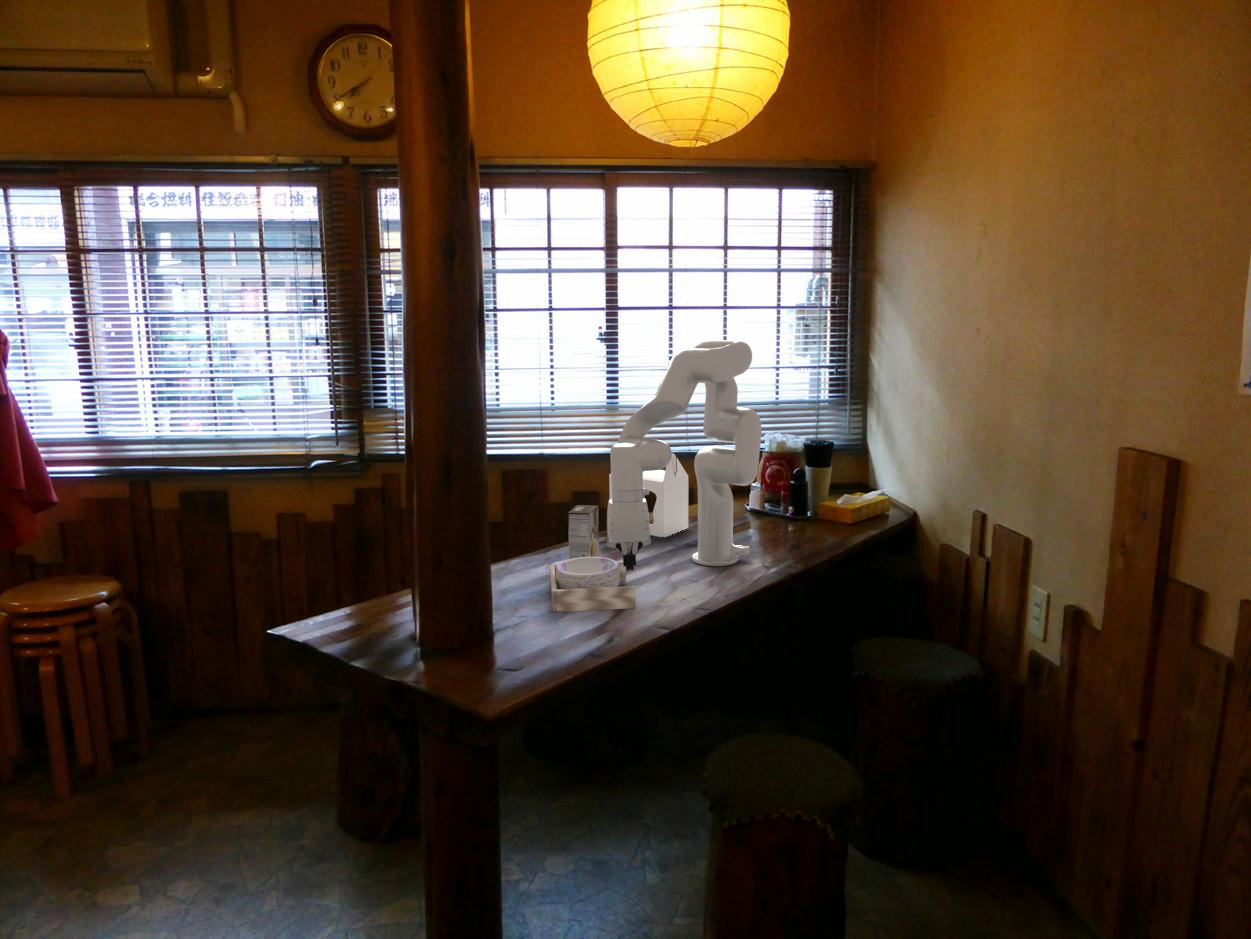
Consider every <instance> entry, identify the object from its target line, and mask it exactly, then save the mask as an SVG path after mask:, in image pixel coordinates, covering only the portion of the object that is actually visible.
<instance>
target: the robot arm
mask: <svg viewBox="0 0 1251 939" xmlns="http://www.w3.org/2000/svg"><path fill="white" fill-rule="evenodd" d="M752 362H753V352H752V349H751V347H750V346H749V344H748V343H747V342H746V341H744V340H736V339H734V340H732V339H729V340H728V339H727V340H724V339H705V340H704V339H703V340H699V341H697V342H695V343H693V345H692V346H691V348H683V349H680V350H678V351H676V352H675V353H674V355H673V356H672V357H671V360H670V362H669V364H668V366H667V369H666V371H665V373H664V375H663V378H662V380H661V382H660V384H659V386H658V388H657V390H656V393H655V394H654V396H653V397H652V399H650V400H649V401H647V402H646V403H645V404H643V405H642V406H641V407H640V408H639V409H638V410H636V411H635V412H634V413H632V415H631V416H630V417H629V418H628V420H627V421H626V422H625V425H624V427H623V428H622V431H621V433H620V435H619V437H618V440H617V443H615V444H613V445H612V446H611V448H610V451H609V452H610V456H609V457H610V473H611V487H612V500H610V499H609V500H608V503H607V510H606V536H607V540H606V546H607V547H608V548H614V549H617V550H618V551H619V552H621V553H622V561H623V566H626V571H634V570H635V568H634V567H635V566H637V559H636V558H637V555H636V554H638V552H639V551H640V549H641V548H643V547H646V546H648V545H651V544H652V540H651V535H650V523H649V514H648V512H649V508H648V503H647V499H646V498H645V496H649V495H650V491H649V489H644V488H643V472H644V471H657V470H664V469H665V468H666V466H667V465H668V464H669V462H670V461H671V457H672V449H671V447H669V446H670V445H668V444H669V443H666V442H665V441H664V440H660V439H655V438H646V436H647V434H648V432H650V431H651V430H652V429H653V428H655V427H656V426H658V425H660V424H662V423H664V422H667V421H670V420H672V419H675V418H677V417H679V416H681V415H683V414H684V413H686V410H687V408H688V406H689V404H690V401H691V399H692V398H693V397H692V396H693V395H694V392H695V390H696V388H697V386H698V385H699V384H704V385H705V386H704V387H705V401H704V412H703V413H704V414H703V423H702V424H703V428H702V429H703V433H704V436H705V438H707V439H708V440H711V441H715V442H721V443H728V444H734V448H733V447H724V446H715V445H714V446H713V445H711V446H710V445H709V446H706V447H705V446H704V447H703V448H701V449H700V450H698V452H697V453H696V455H695V457H694V461H693V463H694V465H693V467H694V472H695V478H696V484H697V551H696V552H694V553H693V554H692V555H691V556H692V557H691V559H692V561H693V563H695V564H698V565H703V566H708V567H725V566H730V565H733V564H736V563H737V562H738V561H739V554H750V553H751V552H750V551H751V548H750V546H744V545H743V544H740V545H738V544H737V545H735V543H733V541H734V539H733V538H734V534H733V530H734V496H733V493H732V489H731V488H730V485H735V486H743V487H745V486H750V484H753V482H755V479H756V477H757V476H758V475H757V474H758V470H759V461H760V451H761V444H762V443H761V440H762V420H761V418H760V415H759V414H758V413H757V412H756V411H755V410H754V409H751V408H747V407H738V391H739V389H738V385H737V382H736V380H735V377H738V376H740V375H742V374H744V373H745V372H746V371H747V370H748V369H749V368H750V367H751V364H752ZM627 543H631V544H630V549H629V550H628V548H627Z"/></svg>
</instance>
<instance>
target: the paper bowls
mask: <svg viewBox="0 0 1251 939" xmlns="http://www.w3.org/2000/svg"><path fill="white" fill-rule="evenodd" d="M556 581H557V584H556V588H557V589H558V590H560V589H581V588H602V587H619V586H620V582H621V581H620V579H619V564H618V563H617V562H616V560H614V559H612V558H609V557H603V556H600V557H580V558H574V559H569V558H568V559H566V560H564V561H561V562H559V563H558V565H557V567H556Z"/></svg>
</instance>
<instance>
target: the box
mask: <svg viewBox="0 0 1251 939" xmlns="http://www.w3.org/2000/svg"><path fill="white" fill-rule="evenodd" d="M615 561H616V560H615ZM616 562H617V563H618V564H619V579H620V581H619V582H626V577H627V576H626V575H627V574H626V571H627V569H626V566H623V560H620V561H619V560H617V561H616ZM558 564H559V563H558ZM558 564H557V563H553V564H552V563H551V564H550V565H549V566H550V569H549V570H550V589H551V590H550V591H551V603H552V613H565V612H582V611H584V612H585V611H587V612H588V611H603V610H605V611H606V610H620V609H622V610H623V609H624V610H625V609H636V604H637V603H636V586H635V585H626V586H625V585H624V586H617V587H602V588H581V589H558V587H557V581H556V567H557V565H558Z"/></svg>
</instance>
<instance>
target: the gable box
mask: <svg viewBox="0 0 1251 939" xmlns="http://www.w3.org/2000/svg"><path fill="white" fill-rule="evenodd" d="M667 444H668V445H669V443H667ZM669 447H670V445H669ZM670 448H671V447H670ZM608 480H609V482H608V483H609V500H612V487H611V472H610V473H609V479H608ZM643 488H644V489H649V492H652V493H654V495H655V497H656V501H655V504H654V507H653V510H652V511H651V512H649V511H648V514H649V521H650V522H653V524H650V536H653V537H657V538H662V537H664V538H666V537H670V536H672V534H673V535H675V533H676V534H678V533H677V532H679V533H681V532H680V531H682V530H684V531H686V530H685V529H687V528H688V529H689V474H688V473H687V471H686V470H685V469H684V467H683V465H682V464H681V462H680V460H679V459H678V457H677V454H675V453H672V457H671V461H670V462H669V464H668V465H667V466H666V467H665V468H664V469H661V470H657V471H644V472H643ZM688 529H687V530H688ZM682 532H683V531H682Z"/></svg>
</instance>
